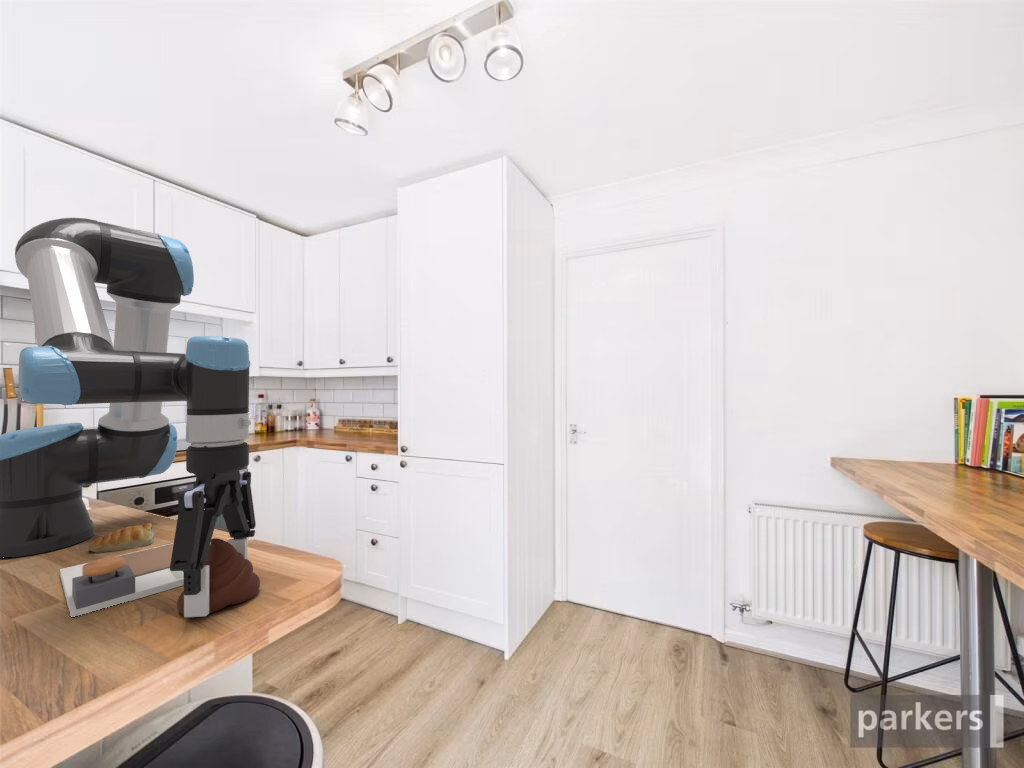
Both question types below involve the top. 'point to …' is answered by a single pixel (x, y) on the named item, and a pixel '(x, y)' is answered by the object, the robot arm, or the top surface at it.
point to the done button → (103, 568)
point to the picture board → (121, 581)
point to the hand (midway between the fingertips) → (218, 596)
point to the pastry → (124, 539)
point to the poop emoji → (227, 577)
